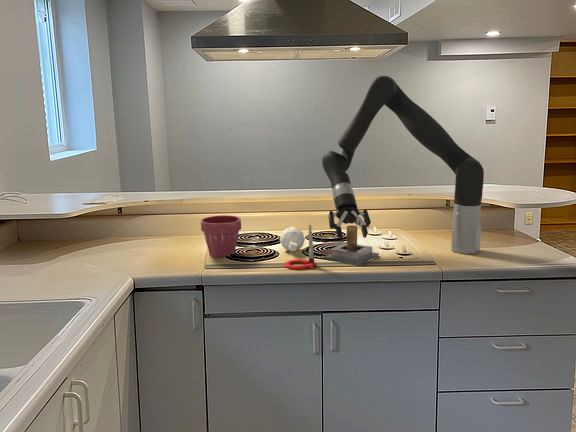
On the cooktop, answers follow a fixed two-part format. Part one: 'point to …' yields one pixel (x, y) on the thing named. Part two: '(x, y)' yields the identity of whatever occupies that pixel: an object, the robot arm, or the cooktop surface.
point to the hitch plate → (328, 257)
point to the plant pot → (221, 234)
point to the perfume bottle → (292, 239)
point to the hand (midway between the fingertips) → (353, 237)
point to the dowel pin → (352, 238)
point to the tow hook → (308, 263)
